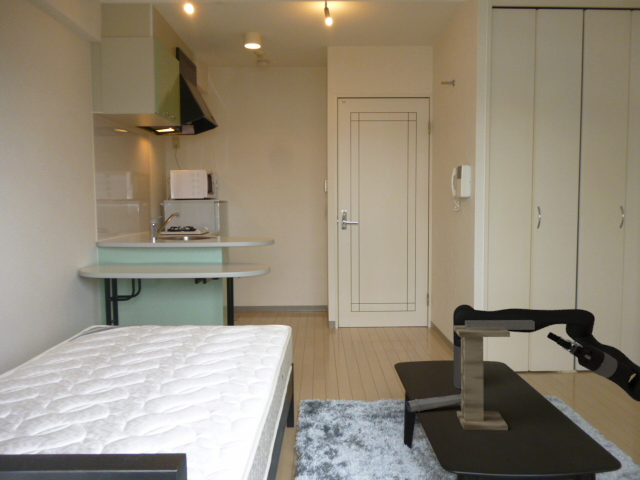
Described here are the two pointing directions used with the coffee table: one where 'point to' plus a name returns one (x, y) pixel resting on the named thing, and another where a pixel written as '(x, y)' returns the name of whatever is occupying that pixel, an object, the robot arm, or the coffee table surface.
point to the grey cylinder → (432, 403)
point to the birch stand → (476, 381)
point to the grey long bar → (499, 325)
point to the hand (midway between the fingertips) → (553, 337)
